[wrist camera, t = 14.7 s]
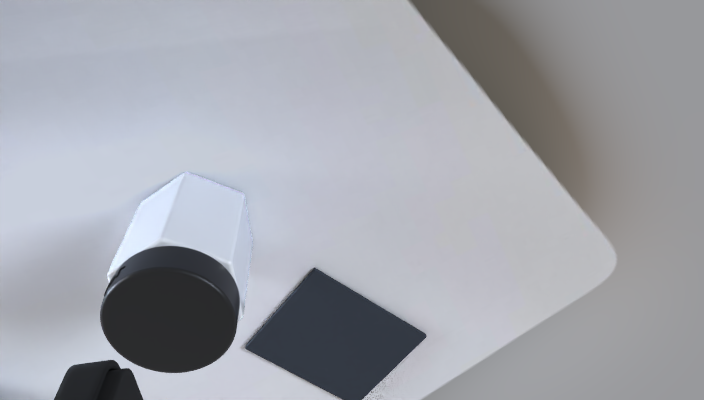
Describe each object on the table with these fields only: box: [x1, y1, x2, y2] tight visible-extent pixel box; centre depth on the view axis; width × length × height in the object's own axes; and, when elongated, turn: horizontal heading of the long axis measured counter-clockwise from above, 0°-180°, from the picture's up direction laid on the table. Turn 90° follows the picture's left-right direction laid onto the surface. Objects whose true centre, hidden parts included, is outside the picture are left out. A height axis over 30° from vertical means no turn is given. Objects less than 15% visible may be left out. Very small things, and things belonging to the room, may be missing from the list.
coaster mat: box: [245, 268, 426, 400], centre depth 56 cm, size 12×10×1 cm
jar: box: [100, 172, 253, 373], centre depth 44 cm, size 9×8×12 cm
